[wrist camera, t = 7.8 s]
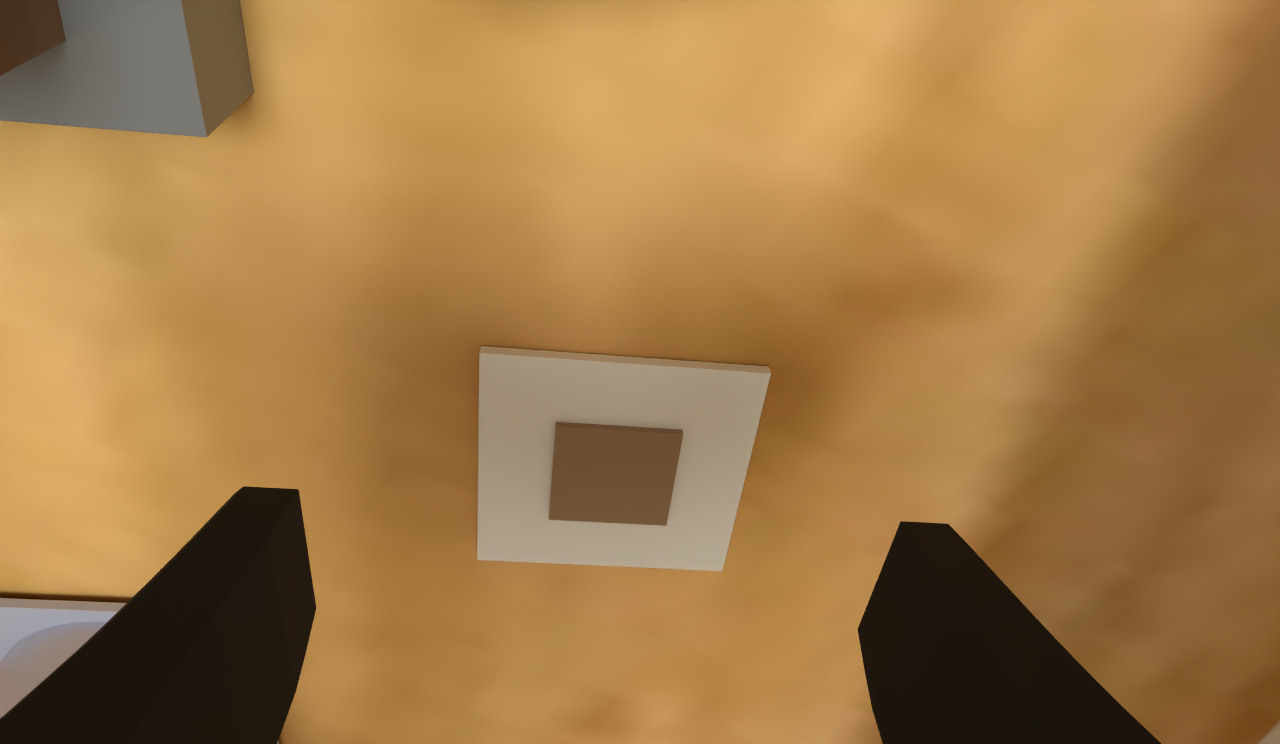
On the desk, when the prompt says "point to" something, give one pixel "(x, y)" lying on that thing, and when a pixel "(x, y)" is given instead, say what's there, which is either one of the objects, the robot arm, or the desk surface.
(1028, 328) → the desk surface
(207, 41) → the slate slab
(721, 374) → the placard
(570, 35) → the desk surface
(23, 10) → the walnut block
